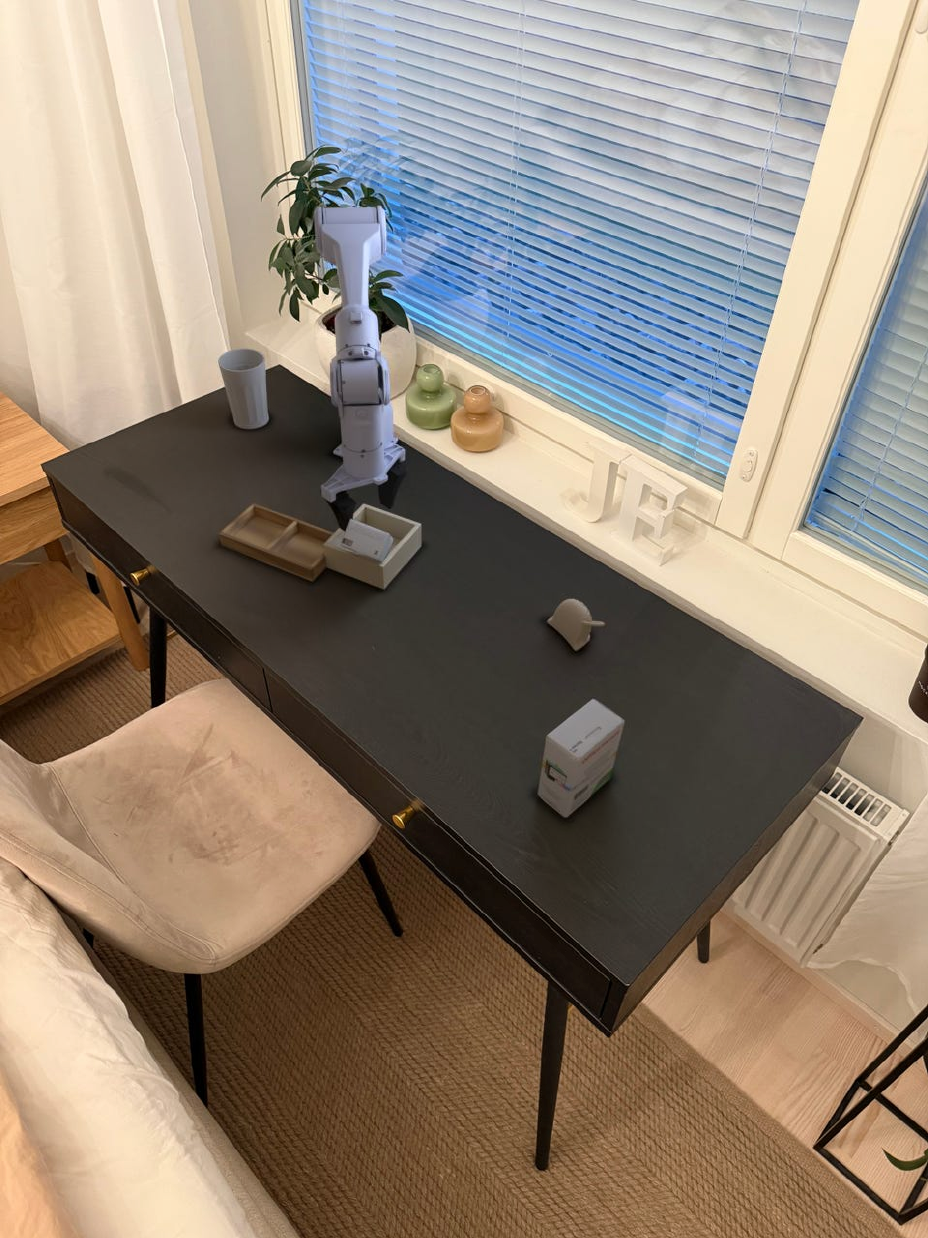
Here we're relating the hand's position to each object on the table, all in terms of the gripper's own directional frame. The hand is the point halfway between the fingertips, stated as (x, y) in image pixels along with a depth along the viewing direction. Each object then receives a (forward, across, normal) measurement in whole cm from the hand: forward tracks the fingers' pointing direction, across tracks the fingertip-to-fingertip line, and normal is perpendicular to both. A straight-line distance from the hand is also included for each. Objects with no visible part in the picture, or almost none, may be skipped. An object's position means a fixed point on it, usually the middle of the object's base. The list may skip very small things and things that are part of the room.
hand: (366, 517), depth 133 cm
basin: (+7, 0, -1) cm, 7 cm away
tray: (+8, -8, +11) cm, 15 cm away
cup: (+8, +11, +43) cm, 45 cm away
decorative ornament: (+7, +9, -33) cm, 35 cm away
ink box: (+7, -12, -49) cm, 51 cm away
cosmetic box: (+5, 0, -1) cm, 5 cm away
